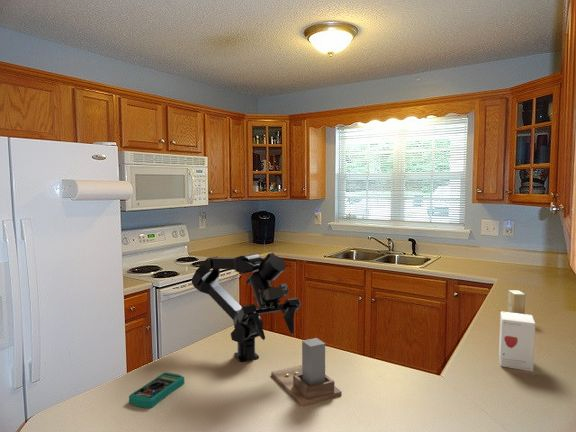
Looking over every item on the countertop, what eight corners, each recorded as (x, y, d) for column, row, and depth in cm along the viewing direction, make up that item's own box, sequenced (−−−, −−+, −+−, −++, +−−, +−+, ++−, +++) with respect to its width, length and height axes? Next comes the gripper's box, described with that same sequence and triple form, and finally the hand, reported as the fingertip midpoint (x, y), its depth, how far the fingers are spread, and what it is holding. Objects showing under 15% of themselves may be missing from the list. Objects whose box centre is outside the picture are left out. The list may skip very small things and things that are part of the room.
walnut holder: (271, 375, 119) (271, 361, 119) (306, 366, 125) (306, 354, 124) (301, 406, 102) (301, 390, 102) (341, 395, 108) (341, 380, 107)
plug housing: (302, 387, 110) (302, 340, 109) (316, 383, 112) (316, 337, 111) (310, 394, 106) (310, 346, 105) (325, 390, 108) (325, 343, 107)
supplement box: (499, 366, 124) (501, 318, 123) (498, 355, 132) (499, 310, 131) (534, 372, 120) (536, 323, 119) (530, 360, 128) (532, 314, 127)
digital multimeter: (126, 405, 104) (126, 394, 104) (164, 379, 118) (164, 370, 117) (149, 411, 101) (149, 400, 101) (185, 384, 115) (185, 374, 115)
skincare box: (506, 318, 168) (507, 289, 168) (518, 318, 168) (519, 290, 167) (513, 323, 162) (514, 293, 161) (524, 324, 162) (526, 294, 161)
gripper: (241, 278, 114) (257, 329, 106) (298, 271, 123) (317, 318, 115) (231, 298, 122) (245, 347, 113) (285, 290, 131) (302, 335, 122)
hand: (278, 336), depth 116 cm, fingers open, 9 cm apart
